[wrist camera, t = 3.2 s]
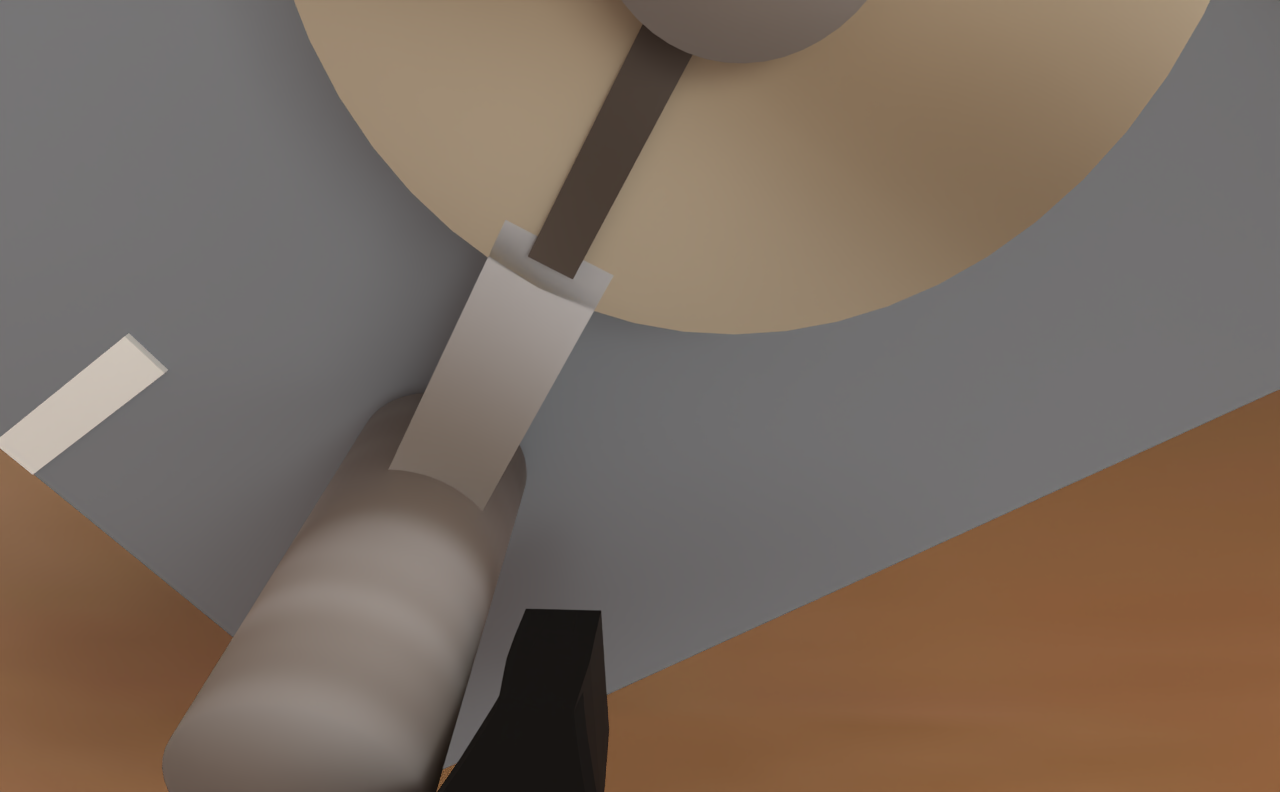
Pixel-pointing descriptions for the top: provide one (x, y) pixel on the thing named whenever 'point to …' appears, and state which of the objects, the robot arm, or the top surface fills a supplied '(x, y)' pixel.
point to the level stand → (604, 353)
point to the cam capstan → (628, 279)
